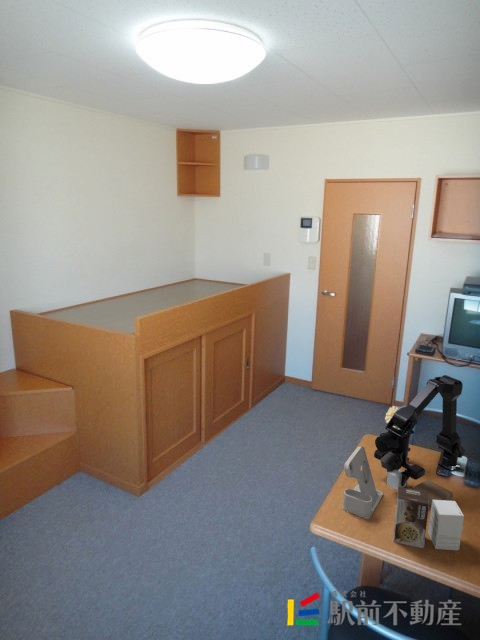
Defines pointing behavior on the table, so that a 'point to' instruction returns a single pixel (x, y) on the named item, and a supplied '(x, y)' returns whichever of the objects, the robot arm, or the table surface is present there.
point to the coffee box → (411, 517)
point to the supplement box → (445, 525)
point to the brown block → (434, 491)
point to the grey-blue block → (395, 479)
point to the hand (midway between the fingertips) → (396, 482)
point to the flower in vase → (391, 414)
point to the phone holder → (360, 486)
